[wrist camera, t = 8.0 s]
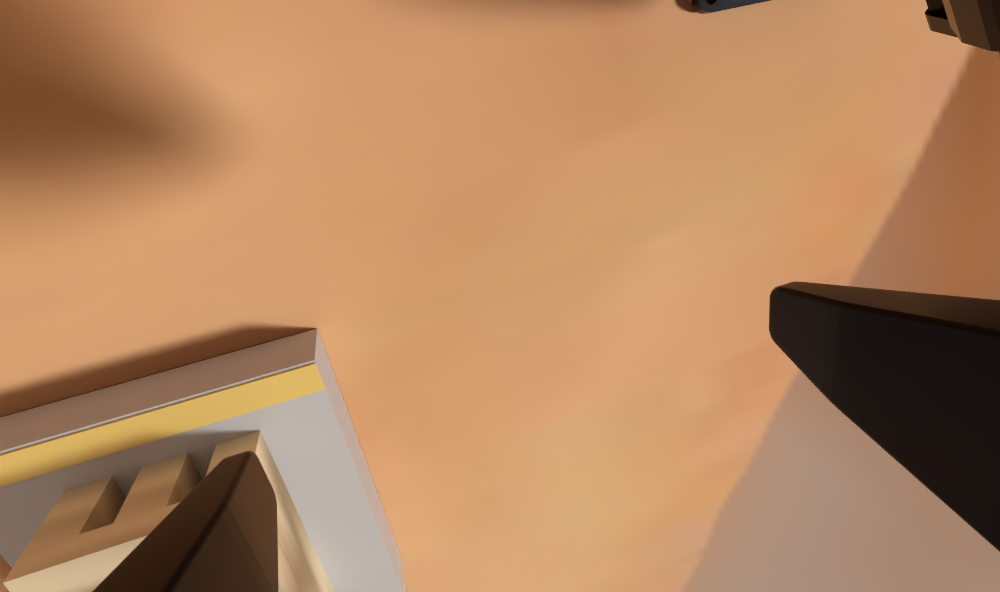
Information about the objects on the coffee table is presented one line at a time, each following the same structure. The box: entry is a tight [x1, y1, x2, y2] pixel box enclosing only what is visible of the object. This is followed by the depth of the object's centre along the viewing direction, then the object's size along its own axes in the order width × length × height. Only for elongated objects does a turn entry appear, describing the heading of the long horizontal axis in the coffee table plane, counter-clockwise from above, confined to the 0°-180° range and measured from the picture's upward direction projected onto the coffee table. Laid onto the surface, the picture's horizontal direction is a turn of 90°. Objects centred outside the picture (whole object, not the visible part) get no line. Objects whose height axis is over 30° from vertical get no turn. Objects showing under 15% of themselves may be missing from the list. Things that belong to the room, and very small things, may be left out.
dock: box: [0, 329, 406, 592], centre depth 20 cm, size 11×12×3 cm
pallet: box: [3, 430, 334, 592], centre depth 18 cm, size 8×6×4 cm
